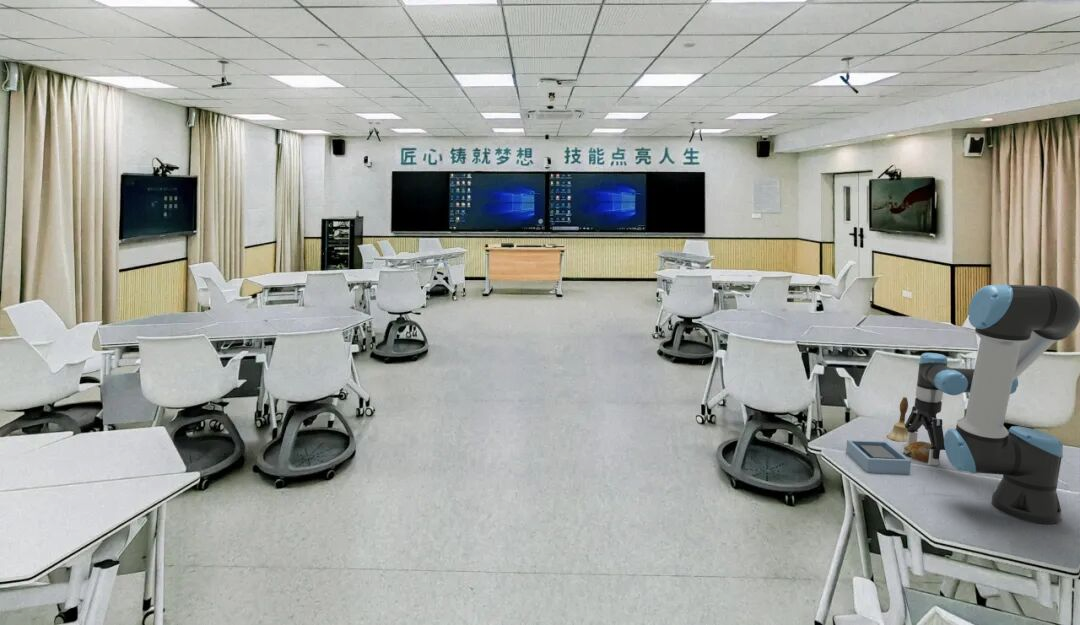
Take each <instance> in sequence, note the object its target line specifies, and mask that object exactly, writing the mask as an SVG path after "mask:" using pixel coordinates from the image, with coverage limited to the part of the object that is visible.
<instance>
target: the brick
mask: <svg viewBox="0 0 1080 625" xmlns="http://www.w3.org/2000/svg"><path fill="white" fill-rule="evenodd" d="M860 449H861V450H862V451H863V452H864V453H865V454H866V455H867V456H868V457H869V458H881V459H896V457H894V456H893V455H892V454H891V453H889V452H888V451H887V450H886V449H885V448H883V447H882V446H869V445H860Z"/></svg>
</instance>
